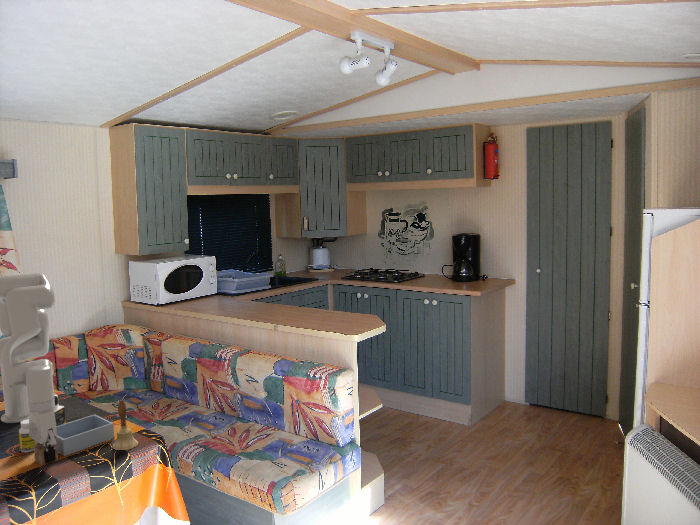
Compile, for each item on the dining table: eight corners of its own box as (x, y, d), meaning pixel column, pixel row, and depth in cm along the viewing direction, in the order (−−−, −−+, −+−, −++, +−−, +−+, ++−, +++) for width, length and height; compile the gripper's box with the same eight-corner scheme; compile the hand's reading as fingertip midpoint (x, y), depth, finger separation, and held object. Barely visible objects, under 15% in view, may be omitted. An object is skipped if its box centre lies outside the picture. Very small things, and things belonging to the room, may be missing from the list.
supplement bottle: (20, 454, 195) (17, 425, 193) (20, 448, 199) (18, 420, 198) (38, 450, 197) (36, 422, 196) (38, 444, 202) (36, 416, 201)
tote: (46, 445, 201) (45, 429, 200) (95, 428, 214) (94, 414, 213) (64, 456, 193) (62, 440, 192) (114, 438, 205) (113, 423, 205)
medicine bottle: (53, 432, 212) (50, 400, 210) (35, 431, 213) (32, 398, 212) (66, 424, 219) (63, 393, 217) (49, 423, 220) (46, 392, 219)
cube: (35, 461, 190) (33, 446, 189) (51, 455, 193) (49, 440, 193) (41, 465, 186) (40, 450, 186) (58, 459, 190) (56, 444, 189)
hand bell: (112, 453, 194) (109, 406, 192) (111, 443, 202) (108, 398, 200) (139, 448, 198) (136, 402, 195) (137, 438, 205) (134, 394, 203)
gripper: (18, 402, 190) (23, 456, 192) (40, 414, 179) (45, 471, 182) (42, 395, 196) (47, 448, 198) (65, 407, 185) (70, 462, 187)
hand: (46, 458), depth 190 cm, fingers closed on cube, 5 cm apart
